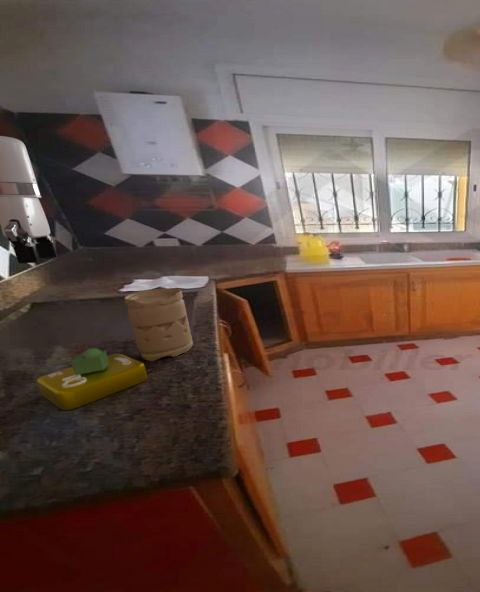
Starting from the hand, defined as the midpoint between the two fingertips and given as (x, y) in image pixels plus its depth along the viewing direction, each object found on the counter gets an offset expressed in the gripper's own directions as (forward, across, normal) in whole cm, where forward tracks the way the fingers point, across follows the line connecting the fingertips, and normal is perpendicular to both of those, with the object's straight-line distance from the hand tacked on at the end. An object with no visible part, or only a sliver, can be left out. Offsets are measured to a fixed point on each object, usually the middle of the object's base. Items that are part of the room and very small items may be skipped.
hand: (39, 260), depth 82 cm
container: (+28, +8, +23) cm, 37 cm away
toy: (+24, +24, +12) cm, 36 cm away
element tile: (+28, +24, +12) cm, 39 cm away
